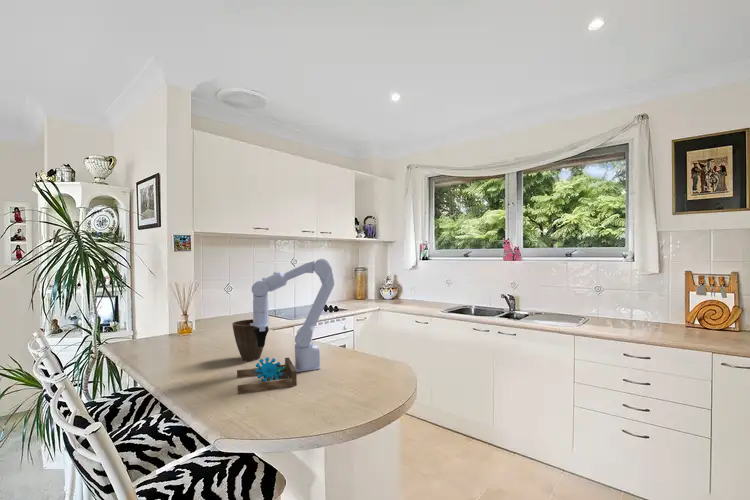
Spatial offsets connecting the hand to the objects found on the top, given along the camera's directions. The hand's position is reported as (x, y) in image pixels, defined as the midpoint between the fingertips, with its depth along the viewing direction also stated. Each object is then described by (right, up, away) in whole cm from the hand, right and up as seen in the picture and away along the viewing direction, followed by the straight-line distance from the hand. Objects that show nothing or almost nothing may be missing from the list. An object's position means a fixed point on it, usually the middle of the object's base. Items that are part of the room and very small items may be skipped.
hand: (261, 346), depth 143 cm
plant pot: (-10, -10, +17) cm, 22 cm away
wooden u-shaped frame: (+5, -9, -12) cm, 16 cm away
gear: (+7, -10, -11) cm, 16 cm away
